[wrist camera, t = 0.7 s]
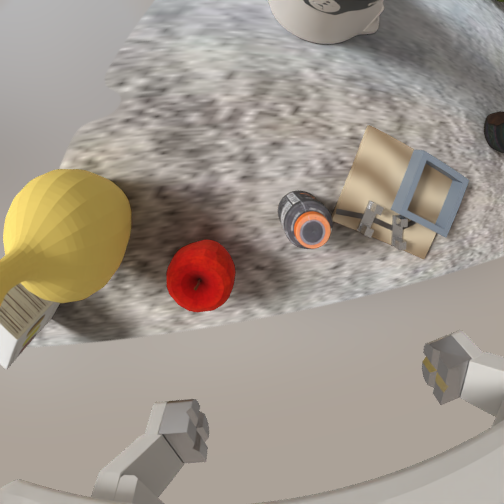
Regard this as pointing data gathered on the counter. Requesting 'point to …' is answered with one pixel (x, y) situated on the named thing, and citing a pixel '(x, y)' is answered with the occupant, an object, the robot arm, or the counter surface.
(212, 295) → the apple
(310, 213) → the pill bottle
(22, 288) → the supplement box
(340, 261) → the counter surface
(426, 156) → the end holder
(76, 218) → the vase
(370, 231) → the clips
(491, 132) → the mate gourd
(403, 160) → the board
